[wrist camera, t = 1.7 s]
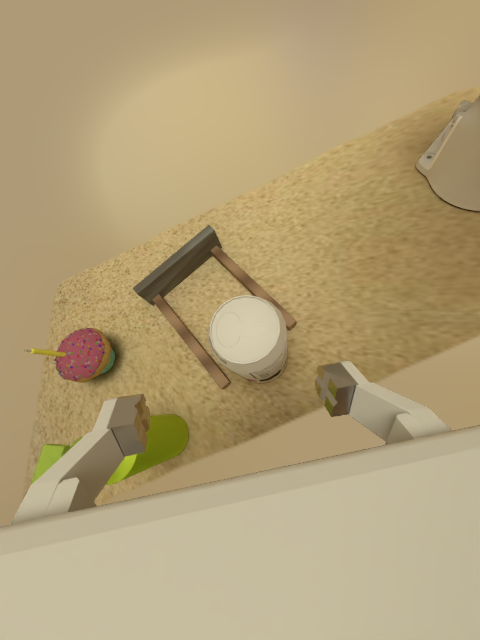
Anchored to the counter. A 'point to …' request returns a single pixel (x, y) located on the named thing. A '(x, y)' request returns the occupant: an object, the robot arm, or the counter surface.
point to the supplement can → (250, 338)
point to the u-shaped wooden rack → (181, 268)
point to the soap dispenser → (162, 445)
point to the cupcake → (82, 355)
